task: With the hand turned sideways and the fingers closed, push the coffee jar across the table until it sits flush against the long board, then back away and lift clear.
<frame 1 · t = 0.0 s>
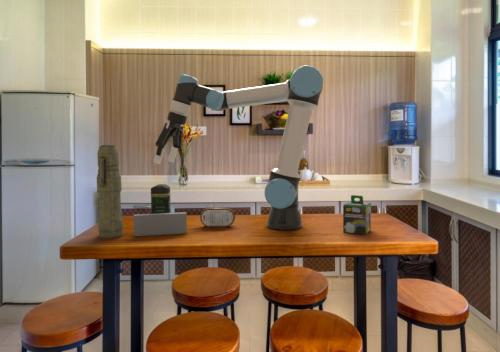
hand: (163, 162, 148), 28 cm above the table, tool tilted 20°, fingers open, 13 cm apart
chalk box: (356, 232, 144), on the table
board: (161, 233, 141), on the table
coffee jar: (161, 228, 152), on the table
carved stone statue: (111, 236, 139), on the table
tin: (217, 227, 154), on the table
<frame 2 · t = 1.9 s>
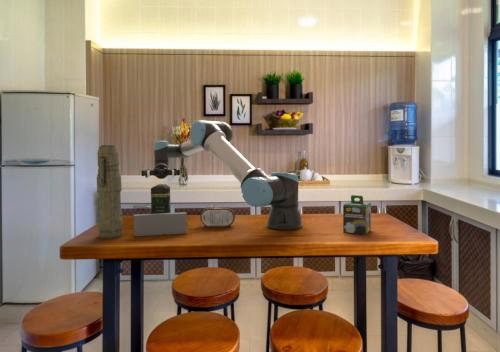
hand: (160, 174, 162), 22 cm above the table, tool horizontal, fingers open, 10 cm apart
nothing on the table moved.
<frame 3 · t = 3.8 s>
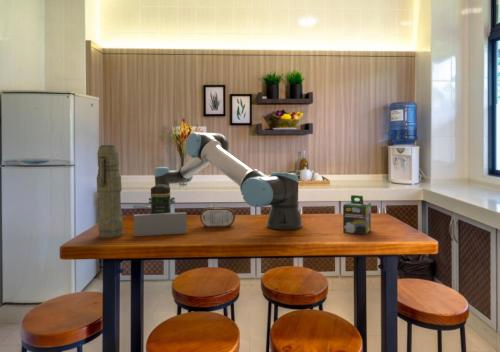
hand: (161, 205, 161), 8 cm above the table, tool horizontal, fingers closed
nothing on the table moved.
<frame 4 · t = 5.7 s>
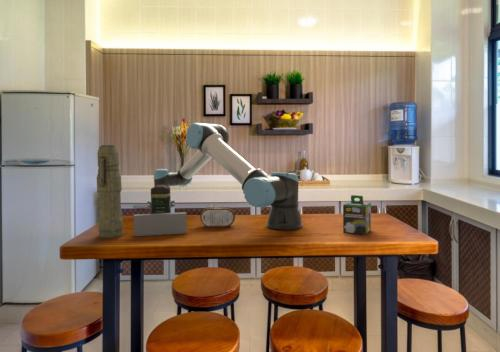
hand: (160, 209, 154), 7 cm above the table, tool horizontal, fingers closed
coffee jar: (161, 229, 150), on the table, touching gripper
everything else where it was.
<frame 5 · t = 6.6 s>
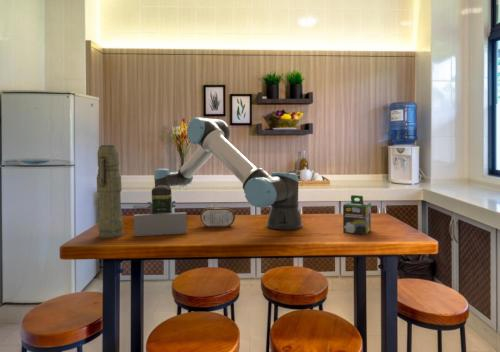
hand: (160, 210, 151), 8 cm above the table, tool horizontal, fingers closed
coffee jar: (162, 230, 147), on the table, touching board, gripper
everything else where it was.
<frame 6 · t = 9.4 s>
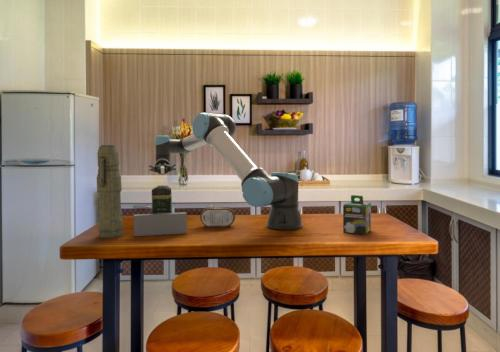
hand: (162, 170, 158), 24 cm above the table, tool horizontal, fingers closed
coffee jar: (162, 230, 147), on the table
everything else where it was.
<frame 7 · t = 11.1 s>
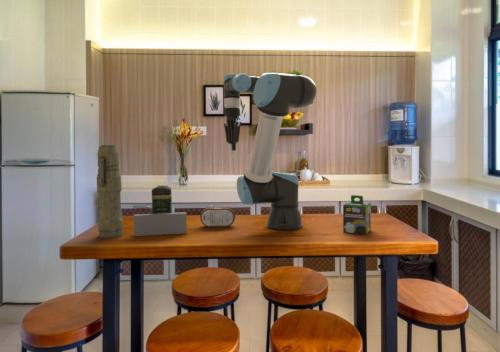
hand: (232, 157, 172), 29 cm above the table, tool pointing down, fingers closed
nothing on the table moved.
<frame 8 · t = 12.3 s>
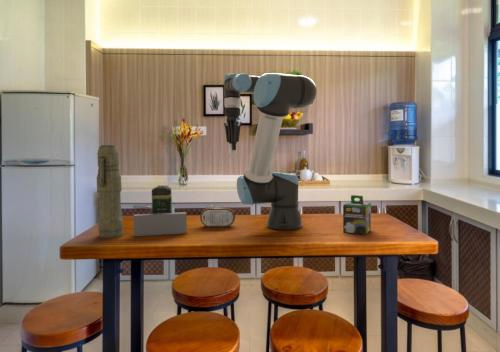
hand: (232, 157, 172), 29 cm above the table, tool pointing down, fingers closed
nothing on the table moved.
at the end: coffee jar 0.6 cm from the target spot on the table beside the board, on the table; coffee jar tilted 0° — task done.
